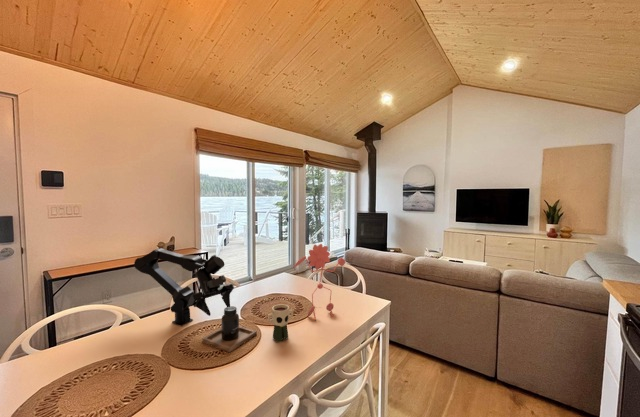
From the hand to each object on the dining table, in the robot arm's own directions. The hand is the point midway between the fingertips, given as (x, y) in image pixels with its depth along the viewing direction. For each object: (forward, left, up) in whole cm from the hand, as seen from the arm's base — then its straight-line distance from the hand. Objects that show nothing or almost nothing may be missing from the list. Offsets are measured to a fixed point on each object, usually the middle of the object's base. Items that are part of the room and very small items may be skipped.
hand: (220, 311), depth 118 cm
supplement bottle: (+7, -1, -9) cm, 11 cm away
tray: (+7, -1, -9) cm, 12 cm away
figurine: (+27, +38, -10) cm, 47 cm away
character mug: (+25, +9, -9) cm, 28 cm away
